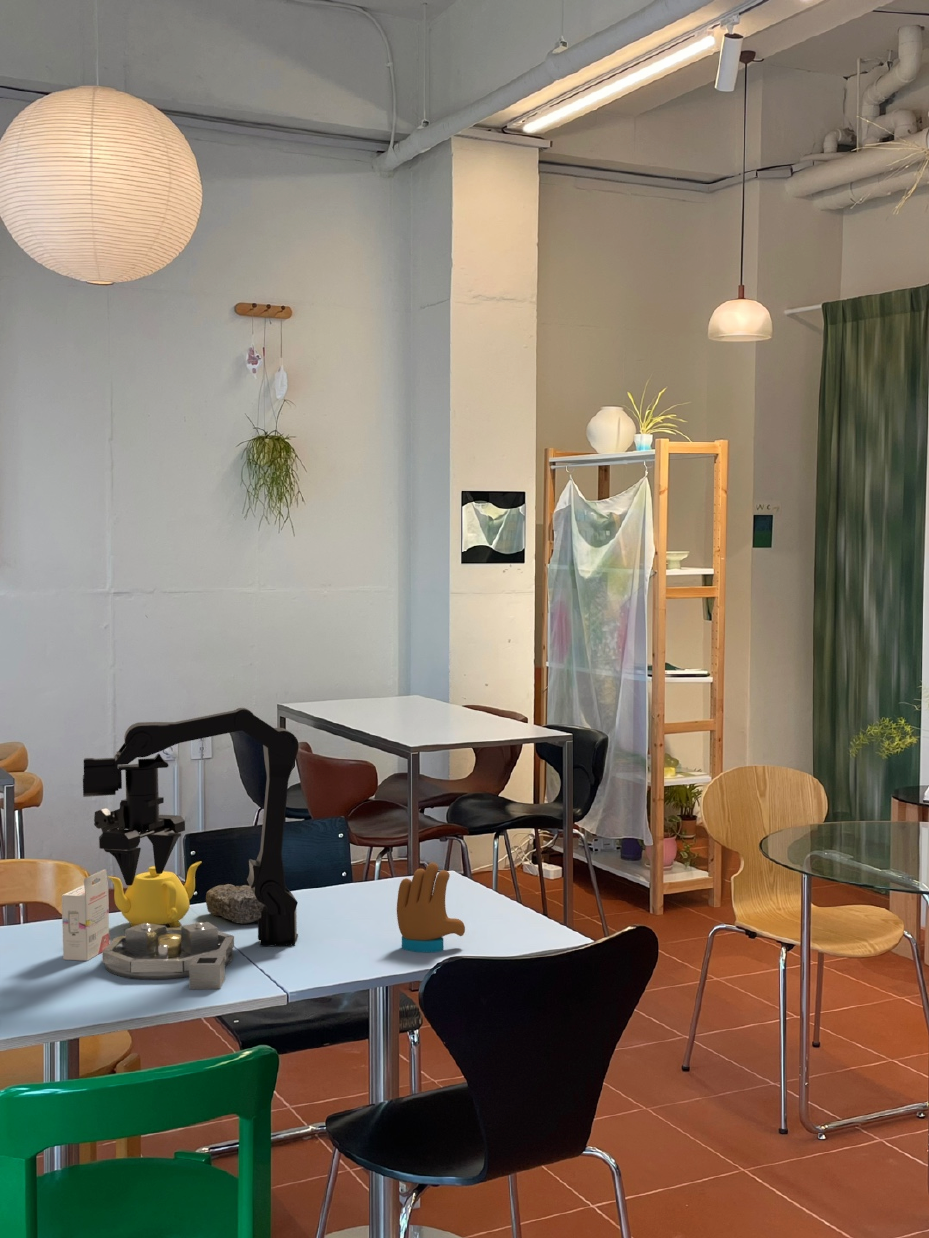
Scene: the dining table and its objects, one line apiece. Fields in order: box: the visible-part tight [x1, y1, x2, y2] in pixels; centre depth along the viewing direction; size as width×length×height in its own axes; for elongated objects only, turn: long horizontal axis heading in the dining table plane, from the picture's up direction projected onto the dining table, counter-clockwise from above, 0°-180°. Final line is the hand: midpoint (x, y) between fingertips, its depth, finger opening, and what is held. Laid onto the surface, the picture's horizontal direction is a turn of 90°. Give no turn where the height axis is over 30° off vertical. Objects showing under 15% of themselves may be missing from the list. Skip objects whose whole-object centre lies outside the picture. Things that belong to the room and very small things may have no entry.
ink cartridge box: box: [60, 869, 110, 962], centre depth 226 cm, size 9×5×15 cm, turn 168°
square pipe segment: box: [188, 956, 226, 990], centre depth 208 cm, size 5×5×4 cm
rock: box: [205, 883, 265, 925], centre depth 252 cm, size 13×6×15 cm
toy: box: [396, 862, 466, 953], centre depth 229 cm, size 12×7×15 cm, turn 70°
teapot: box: [107, 861, 202, 928], centre depth 245 cm, size 20×15×12 cm
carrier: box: [101, 921, 235, 981], centre depth 222 cm, size 22×22×6 cm
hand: (144, 879), depth 226 cm, fingers open, 9 cm apart
